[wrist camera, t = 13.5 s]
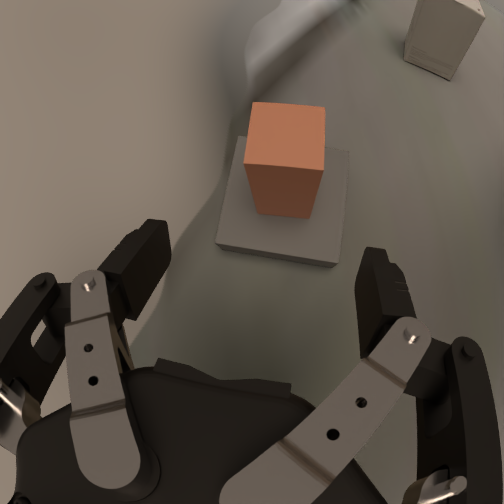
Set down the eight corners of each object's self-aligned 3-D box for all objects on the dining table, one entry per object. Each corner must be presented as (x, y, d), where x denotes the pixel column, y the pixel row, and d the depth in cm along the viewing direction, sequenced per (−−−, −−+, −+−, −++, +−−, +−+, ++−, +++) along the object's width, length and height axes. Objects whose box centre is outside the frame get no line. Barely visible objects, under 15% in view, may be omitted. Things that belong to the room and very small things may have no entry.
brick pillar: (263, 167, 27) (253, 102, 17) (312, 172, 27) (325, 107, 17) (257, 213, 26) (243, 163, 17) (309, 219, 26) (323, 170, 16)
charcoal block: (243, 154, 32) (238, 136, 28) (342, 168, 30) (349, 151, 27) (223, 250, 30) (214, 242, 26) (331, 268, 29) (338, 263, 25)
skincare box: (448, 61, 31) (480, -1, 17) (449, 83, 31) (489, 18, 16) (401, 40, 33) (424, -29, 18) (400, 60, 32) (428, -14, 17)
